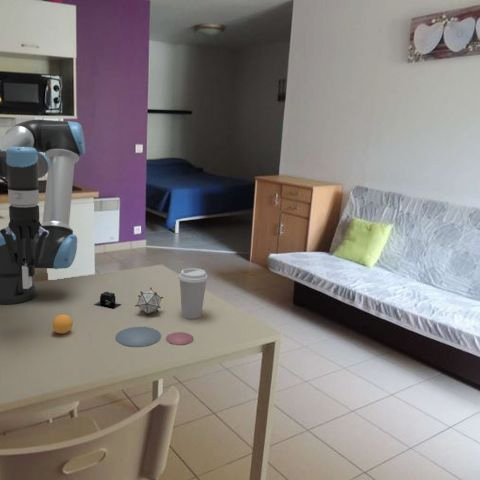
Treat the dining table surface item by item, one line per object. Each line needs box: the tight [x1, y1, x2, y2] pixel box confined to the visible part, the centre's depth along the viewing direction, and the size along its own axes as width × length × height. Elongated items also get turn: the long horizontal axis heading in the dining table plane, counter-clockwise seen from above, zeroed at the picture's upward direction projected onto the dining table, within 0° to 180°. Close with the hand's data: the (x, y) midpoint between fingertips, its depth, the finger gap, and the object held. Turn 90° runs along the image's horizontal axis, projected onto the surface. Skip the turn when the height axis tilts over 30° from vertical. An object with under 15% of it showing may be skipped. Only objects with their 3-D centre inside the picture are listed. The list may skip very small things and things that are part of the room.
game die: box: [134, 286, 164, 317], centre depth 156 cm, size 9×8×10 cm
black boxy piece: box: [93, 291, 123, 310], centre depth 161 cm, size 12×7×5 cm, turn 70°
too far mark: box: [165, 331, 194, 346], centre depth 140 cm, size 8×8×1 cm
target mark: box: [115, 326, 162, 348], centre depth 139 cm, size 13×13×1 cm
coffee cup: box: [177, 267, 209, 320], centre depth 155 cm, size 10×10×15 cm
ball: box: [51, 313, 73, 334], centre depth 138 cm, size 6×6×6 cm
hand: (27, 286), depth 135 cm, fingers closed
